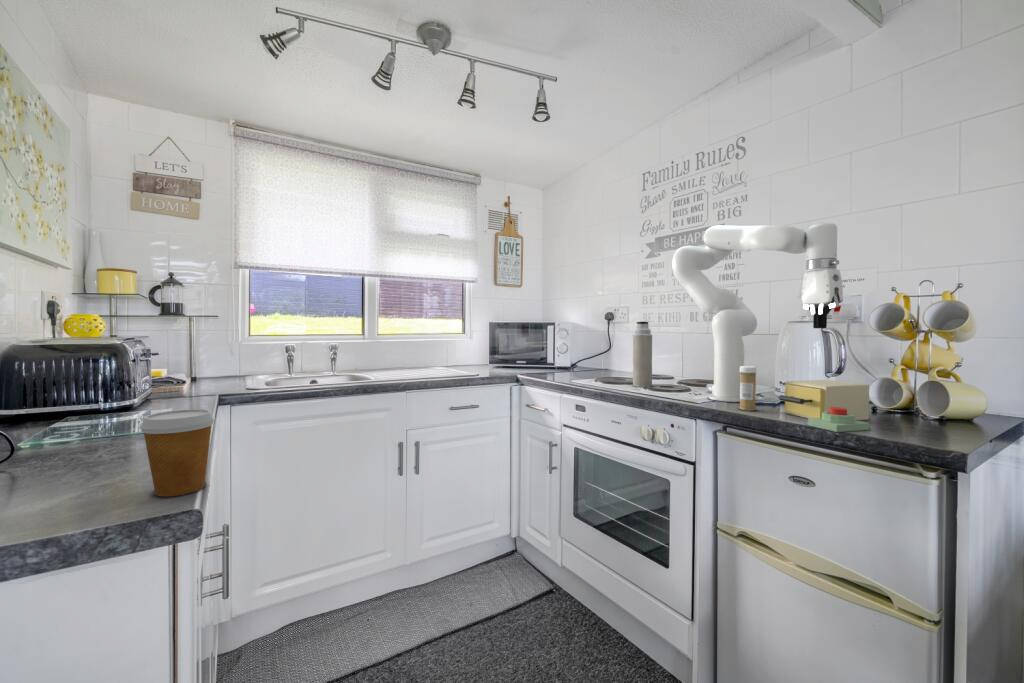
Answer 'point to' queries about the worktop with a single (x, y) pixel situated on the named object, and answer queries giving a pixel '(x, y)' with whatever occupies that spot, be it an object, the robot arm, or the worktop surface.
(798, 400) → the yellow drawer
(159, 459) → the disposable coffee cup
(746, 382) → the sprinkles bottle
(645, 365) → the thermos bottle
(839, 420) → the control block
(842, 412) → the button
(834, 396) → the drawer cabinet
